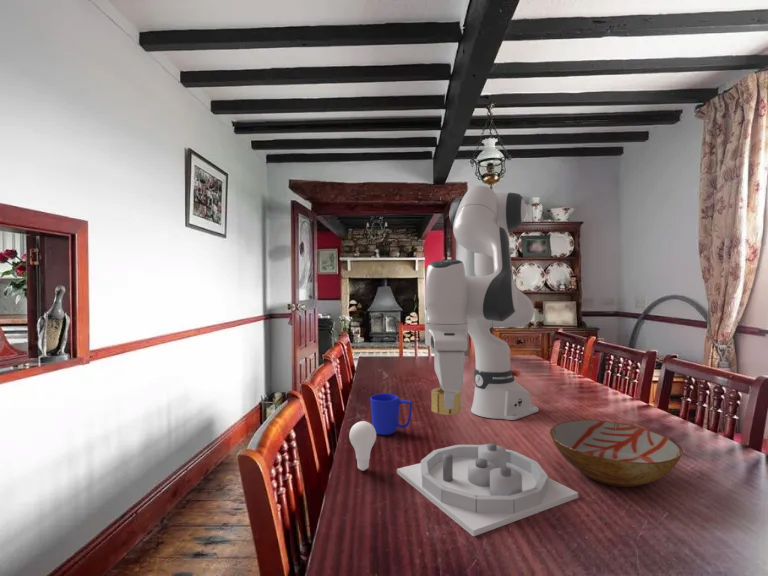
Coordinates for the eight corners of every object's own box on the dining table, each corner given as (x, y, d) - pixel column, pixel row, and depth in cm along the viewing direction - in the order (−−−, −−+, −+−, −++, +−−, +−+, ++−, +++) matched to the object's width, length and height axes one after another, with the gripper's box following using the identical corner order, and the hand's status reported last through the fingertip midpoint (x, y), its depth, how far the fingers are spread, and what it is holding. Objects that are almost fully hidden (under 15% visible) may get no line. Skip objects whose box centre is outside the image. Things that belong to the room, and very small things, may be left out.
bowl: (690, 520, 71) (689, 474, 71) (539, 484, 85) (539, 446, 85) (677, 466, 93) (677, 431, 93) (559, 444, 106) (559, 413, 106)
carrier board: (487, 450, 102) (486, 426, 102) (578, 497, 79) (577, 467, 79) (397, 473, 90) (396, 446, 90) (473, 536, 67) (472, 500, 67)
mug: (410, 439, 110) (410, 402, 110) (367, 436, 113) (367, 400, 113) (414, 428, 119) (413, 394, 119) (374, 426, 121) (373, 392, 121)
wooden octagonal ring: (449, 404, 89) (449, 386, 89) (466, 412, 84) (466, 392, 84) (426, 408, 86) (426, 389, 86) (443, 416, 81) (442, 396, 81)
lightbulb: (349, 465, 95) (349, 418, 95) (375, 463, 95) (375, 417, 95) (349, 477, 89) (349, 427, 89) (377, 475, 89) (376, 425, 89)
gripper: (428, 331, 96) (428, 390, 95) (434, 343, 75) (435, 417, 75) (454, 331, 95) (455, 390, 95) (469, 343, 75) (469, 418, 75)
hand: (446, 402), depth 85 cm, fingers closed on wooden octagonal ring, 6 cm apart
